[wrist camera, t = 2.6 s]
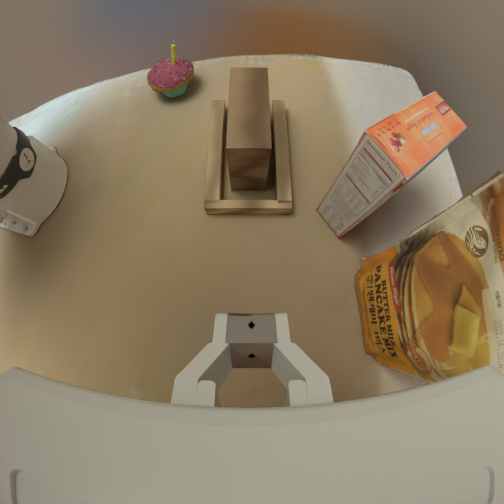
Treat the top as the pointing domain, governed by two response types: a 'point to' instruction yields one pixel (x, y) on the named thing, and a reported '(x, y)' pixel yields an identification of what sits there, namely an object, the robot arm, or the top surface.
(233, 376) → the top surface
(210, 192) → the chute
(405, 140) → the cracker box
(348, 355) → the top surface
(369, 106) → the top surface
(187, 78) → the cupcake
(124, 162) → the top surface
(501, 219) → the pancake mix bag
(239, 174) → the block
